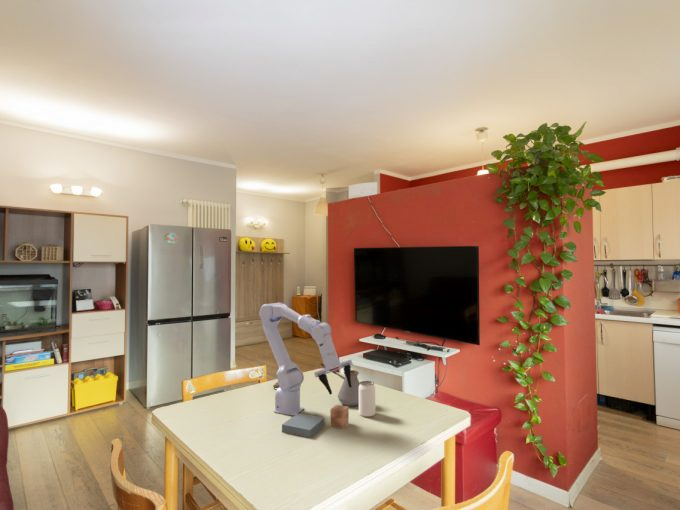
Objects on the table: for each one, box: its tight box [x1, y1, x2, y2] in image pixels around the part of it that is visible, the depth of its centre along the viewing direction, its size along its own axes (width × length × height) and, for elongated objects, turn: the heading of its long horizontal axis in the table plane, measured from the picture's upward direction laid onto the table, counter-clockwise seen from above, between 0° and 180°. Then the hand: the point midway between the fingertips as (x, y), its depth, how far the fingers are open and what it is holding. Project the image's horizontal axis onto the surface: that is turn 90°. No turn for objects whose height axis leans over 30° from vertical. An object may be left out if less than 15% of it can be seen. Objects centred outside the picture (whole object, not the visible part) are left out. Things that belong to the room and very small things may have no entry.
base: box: [281, 412, 325, 438], centre depth 130 cm, size 11×11×2 cm
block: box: [329, 404, 350, 429], centre depth 133 cm, size 5×5×6 cm
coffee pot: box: [318, 363, 360, 407], centre depth 157 cm, size 21×12×15 cm, turn 63°
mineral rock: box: [272, 381, 279, 388], centre depth 177 cm, size 11×4×8 cm
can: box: [358, 380, 376, 418], centre depth 143 cm, size 6×6×12 cm
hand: (340, 390), depth 134 cm, fingers open, 7 cm apart
